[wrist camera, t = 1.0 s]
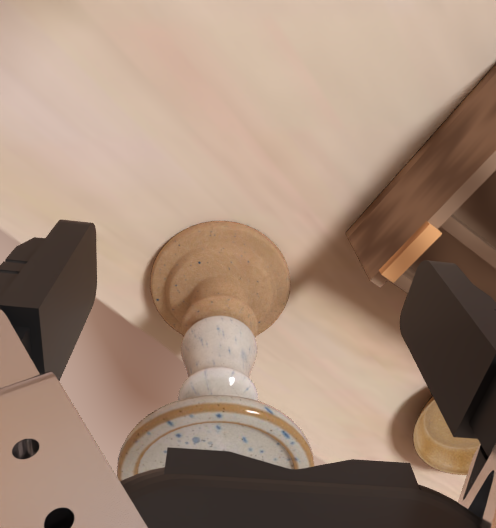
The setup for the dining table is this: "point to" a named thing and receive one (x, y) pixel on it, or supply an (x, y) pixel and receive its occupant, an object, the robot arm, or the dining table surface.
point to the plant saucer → (442, 443)
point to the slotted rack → (439, 202)
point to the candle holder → (218, 350)
